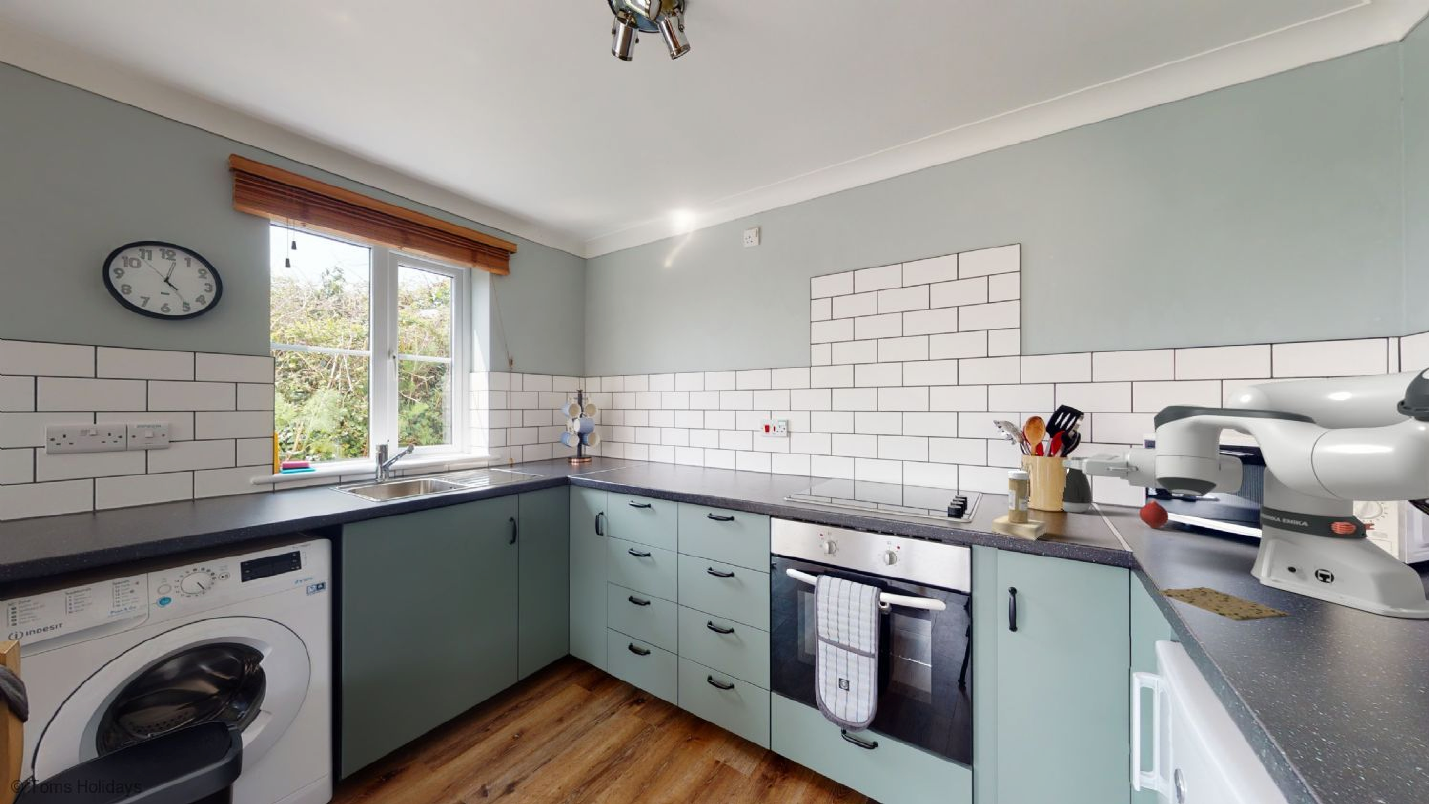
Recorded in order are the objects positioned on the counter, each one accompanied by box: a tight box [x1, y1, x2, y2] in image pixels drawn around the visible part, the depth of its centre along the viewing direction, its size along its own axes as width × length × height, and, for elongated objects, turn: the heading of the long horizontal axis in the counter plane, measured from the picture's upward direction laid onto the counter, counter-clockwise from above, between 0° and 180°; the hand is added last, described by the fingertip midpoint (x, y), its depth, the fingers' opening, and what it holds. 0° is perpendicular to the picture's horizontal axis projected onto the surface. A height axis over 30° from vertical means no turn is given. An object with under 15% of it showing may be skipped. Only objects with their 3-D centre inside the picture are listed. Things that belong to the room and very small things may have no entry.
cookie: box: [1157, 586, 1291, 621], centre depth 85 cm, size 12×12×1 cm
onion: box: [1139, 499, 1169, 530], centre depth 136 cm, size 6×6×8 cm
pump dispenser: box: [1062, 467, 1093, 514], centre depth 157 cm, size 10×10×15 cm
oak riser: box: [991, 514, 1047, 541], centre depth 130 cm, size 10×10×3 cm
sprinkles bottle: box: [1007, 470, 1029, 523], centre depth 130 cm, size 5×5×14 cm
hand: (1067, 461), depth 123 cm, fingers open, 8 cm apart
